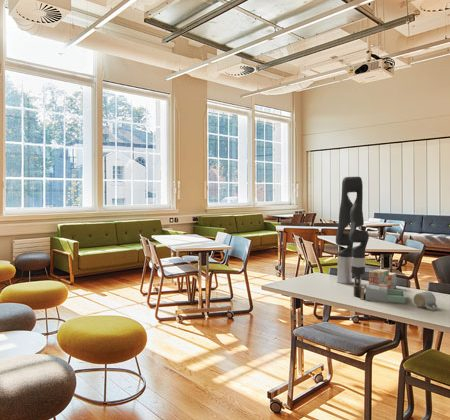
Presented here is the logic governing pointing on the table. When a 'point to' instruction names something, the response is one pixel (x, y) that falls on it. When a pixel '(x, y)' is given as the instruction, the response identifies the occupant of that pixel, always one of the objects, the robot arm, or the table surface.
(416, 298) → the ceramic mug
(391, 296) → the tray
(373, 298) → the grey flat block
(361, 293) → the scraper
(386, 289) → the tile
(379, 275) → the stack of blocks
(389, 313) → the table surface
